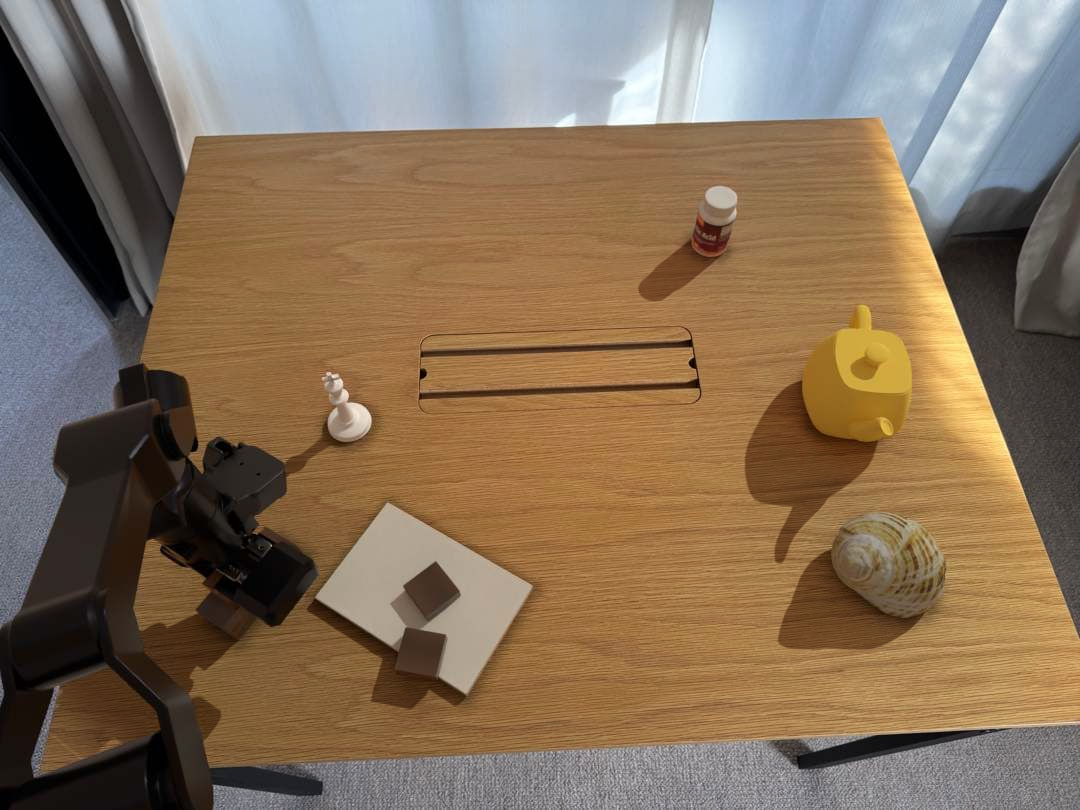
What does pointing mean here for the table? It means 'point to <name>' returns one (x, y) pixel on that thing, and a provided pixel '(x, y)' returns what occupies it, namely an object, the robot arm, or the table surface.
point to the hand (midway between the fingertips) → (246, 575)
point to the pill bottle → (715, 221)
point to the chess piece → (345, 412)
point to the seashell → (890, 563)
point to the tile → (386, 609)
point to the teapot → (858, 382)
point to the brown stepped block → (225, 609)
